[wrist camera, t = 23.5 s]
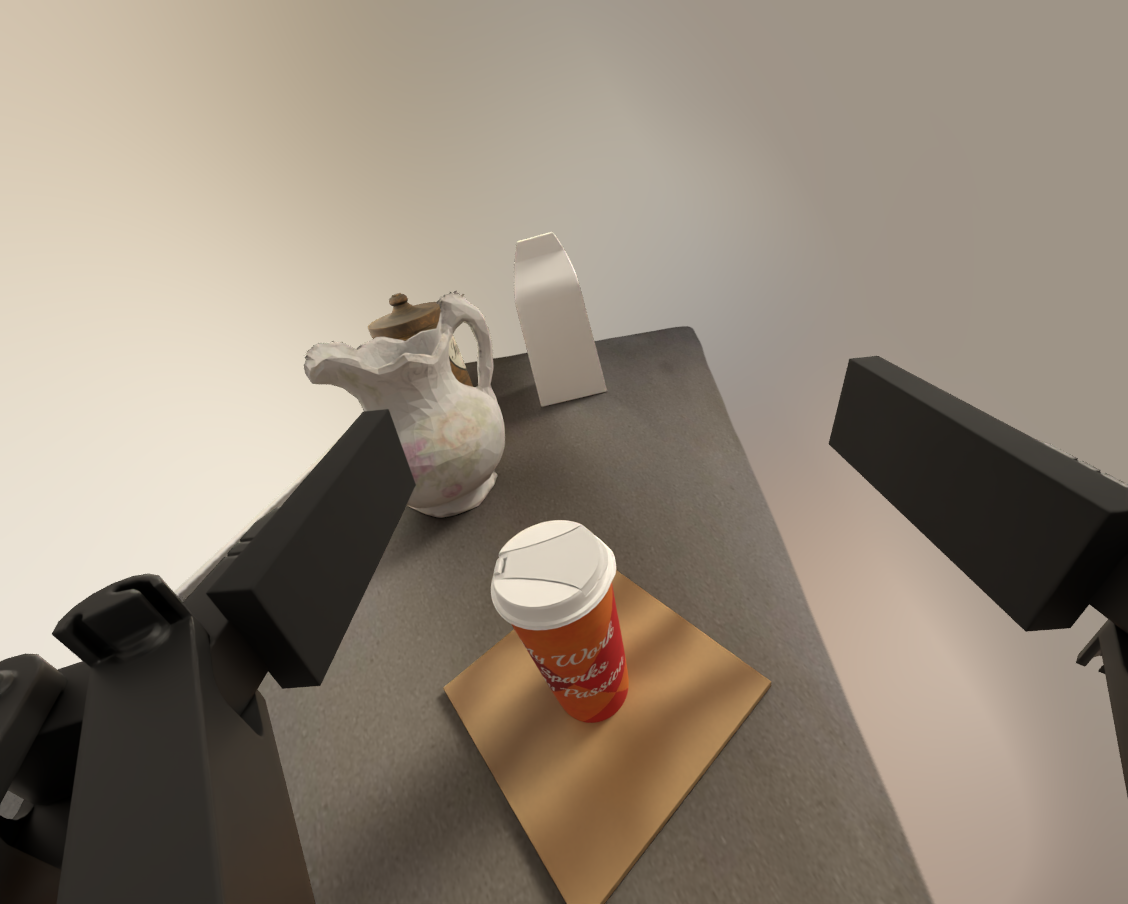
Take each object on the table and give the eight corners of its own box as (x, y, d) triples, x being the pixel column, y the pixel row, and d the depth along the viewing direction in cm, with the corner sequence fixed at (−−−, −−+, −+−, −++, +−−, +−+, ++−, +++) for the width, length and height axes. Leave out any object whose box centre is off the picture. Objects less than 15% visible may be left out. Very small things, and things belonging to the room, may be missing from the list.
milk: (541, 406, 77) (494, 252, 63) (541, 381, 87) (501, 242, 73) (607, 391, 76) (573, 230, 62) (600, 367, 86) (570, 223, 72)
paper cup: (539, 743, 30) (470, 622, 23) (548, 643, 37) (496, 523, 30) (651, 736, 29) (615, 606, 22) (639, 634, 36) (609, 506, 28)
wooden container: (486, 388, 91) (446, 281, 79) (424, 422, 84) (371, 310, 72) (453, 378, 101) (414, 281, 90) (396, 407, 94) (345, 306, 83)
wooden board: (771, 685, 31) (771, 681, 30) (583, 931, 23) (580, 929, 23) (600, 562, 44) (599, 558, 43) (445, 691, 36) (442, 687, 36)
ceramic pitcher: (485, 440, 74) (419, 294, 62) (565, 458, 60) (500, 276, 48) (373, 518, 62) (266, 357, 51) (441, 563, 49) (315, 358, 37)
